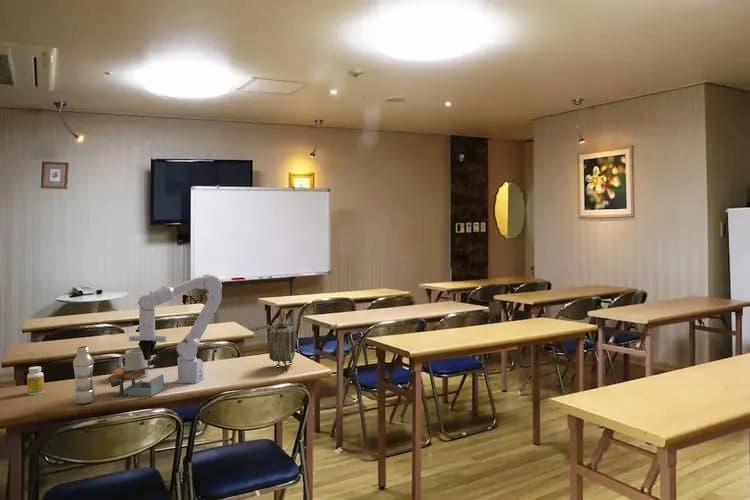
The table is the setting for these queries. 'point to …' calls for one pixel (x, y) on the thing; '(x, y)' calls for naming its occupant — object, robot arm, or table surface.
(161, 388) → the grey open box
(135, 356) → the mug
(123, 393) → the stand
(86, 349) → the plastic bottle
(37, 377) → the supplement bottle
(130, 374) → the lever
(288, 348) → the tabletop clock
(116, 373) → the ball
